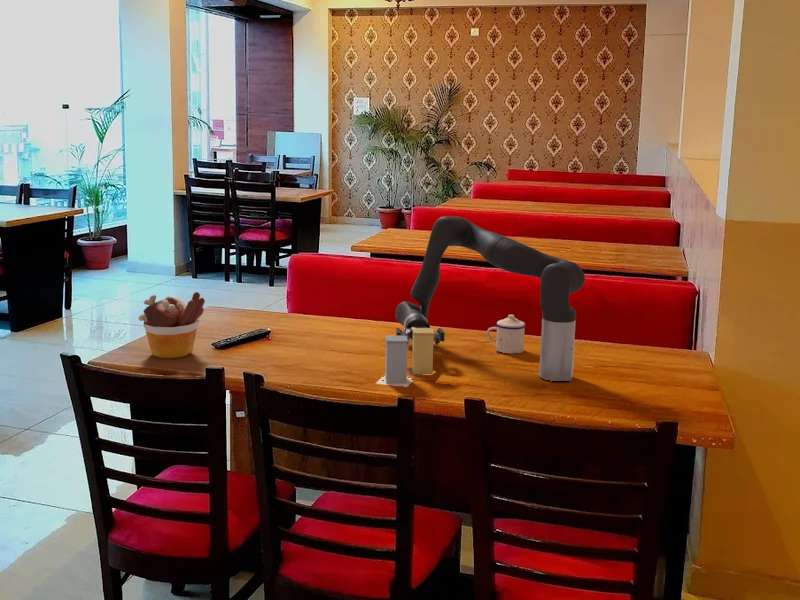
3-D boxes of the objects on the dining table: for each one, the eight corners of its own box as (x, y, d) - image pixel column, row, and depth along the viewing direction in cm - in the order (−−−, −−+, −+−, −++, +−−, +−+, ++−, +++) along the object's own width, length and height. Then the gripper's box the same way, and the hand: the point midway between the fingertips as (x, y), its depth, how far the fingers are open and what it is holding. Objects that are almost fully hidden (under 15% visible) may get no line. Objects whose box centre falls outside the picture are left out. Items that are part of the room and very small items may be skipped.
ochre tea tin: (431, 368, 241) (432, 328, 238) (432, 374, 235) (434, 333, 232) (411, 368, 240) (412, 327, 238) (412, 374, 235) (413, 333, 232)
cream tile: (415, 378, 232) (415, 377, 232) (407, 388, 224) (407, 387, 224) (384, 375, 235) (384, 374, 234) (375, 384, 226) (375, 383, 226)
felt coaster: (439, 370, 240) (439, 368, 240) (432, 378, 233) (432, 376, 233) (412, 367, 243) (412, 366, 242) (405, 375, 235) (405, 373, 235)
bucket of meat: (128, 357, 246) (125, 292, 242) (161, 344, 262) (158, 282, 257) (187, 365, 240) (185, 298, 236) (216, 350, 255) (215, 287, 251)
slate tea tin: (405, 377, 232) (406, 335, 230) (407, 383, 226) (408, 340, 224) (384, 377, 232) (385, 335, 229) (385, 383, 226) (386, 340, 223)
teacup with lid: (525, 348, 266) (527, 313, 263) (522, 355, 257) (524, 319, 255) (488, 345, 269) (489, 310, 266) (484, 352, 260) (485, 316, 257)
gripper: (393, 315, 251) (397, 328, 236) (440, 315, 253) (447, 328, 237) (393, 339, 253) (397, 353, 237) (439, 339, 254) (446, 354, 238)
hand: (422, 341), depth 237 cm, fingers open, 8 cm apart
